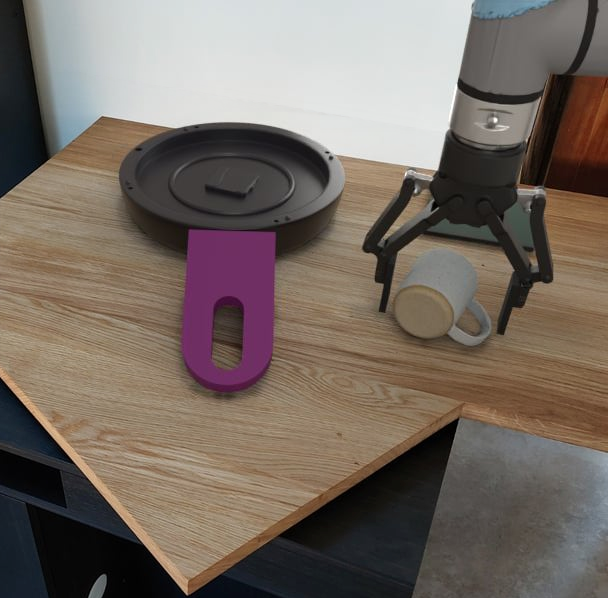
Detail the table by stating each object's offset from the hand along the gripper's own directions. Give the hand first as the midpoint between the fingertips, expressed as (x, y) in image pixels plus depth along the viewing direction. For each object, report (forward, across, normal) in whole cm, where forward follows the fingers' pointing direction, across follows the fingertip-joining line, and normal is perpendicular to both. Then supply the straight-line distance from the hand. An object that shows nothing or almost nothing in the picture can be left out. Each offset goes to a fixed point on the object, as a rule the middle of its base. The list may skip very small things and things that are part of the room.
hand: (441, 316), depth 87 cm
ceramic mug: (+1, 0, 0) cm, 1 cm away
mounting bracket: (+1, -22, -10) cm, 24 cm away
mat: (+1, +3, +26) cm, 26 cm away
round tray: (+1, -30, +18) cm, 35 cm away
